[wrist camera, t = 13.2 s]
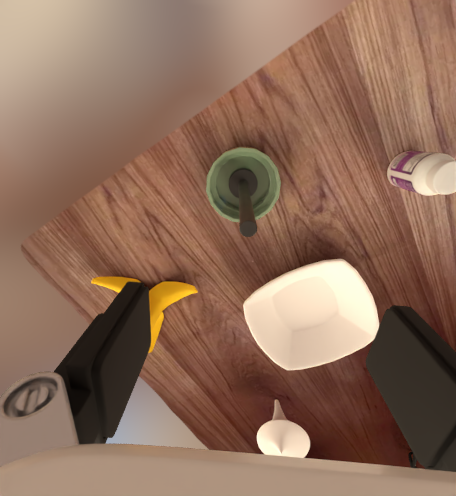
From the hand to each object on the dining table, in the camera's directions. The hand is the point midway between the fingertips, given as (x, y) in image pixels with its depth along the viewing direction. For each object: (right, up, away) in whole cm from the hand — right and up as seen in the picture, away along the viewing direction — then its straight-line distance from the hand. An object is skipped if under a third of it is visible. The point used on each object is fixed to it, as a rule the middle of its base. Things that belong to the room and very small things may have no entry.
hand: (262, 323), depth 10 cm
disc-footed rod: (+1, +13, +31) cm, 34 cm away
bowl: (+14, -8, +40) cm, 43 cm away
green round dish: (+1, +14, +31) cm, 34 cm away
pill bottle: (+26, +15, +30) cm, 42 cm away
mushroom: (+10, -33, +52) cm, 62 cm away
